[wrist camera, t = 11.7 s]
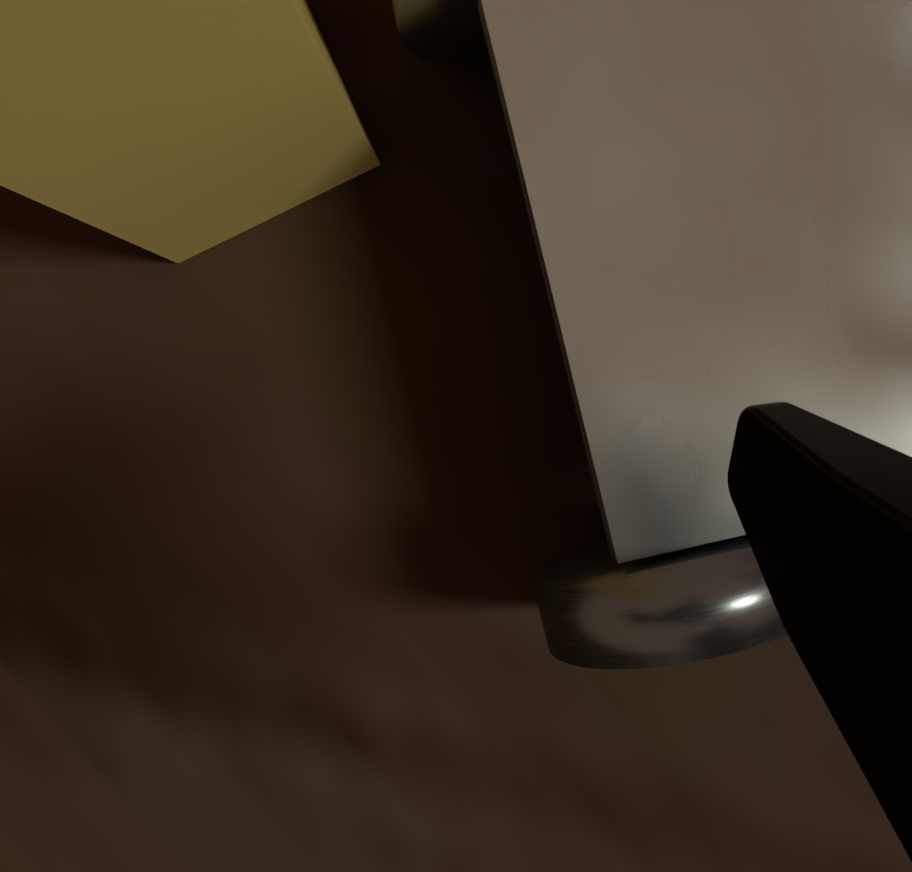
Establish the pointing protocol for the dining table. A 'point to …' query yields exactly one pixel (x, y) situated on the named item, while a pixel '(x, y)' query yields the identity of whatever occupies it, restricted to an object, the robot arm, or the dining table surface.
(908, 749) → the robot arm
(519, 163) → the trolley
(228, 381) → the dining table surface
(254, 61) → the tall yellow block
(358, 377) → the dining table surface
